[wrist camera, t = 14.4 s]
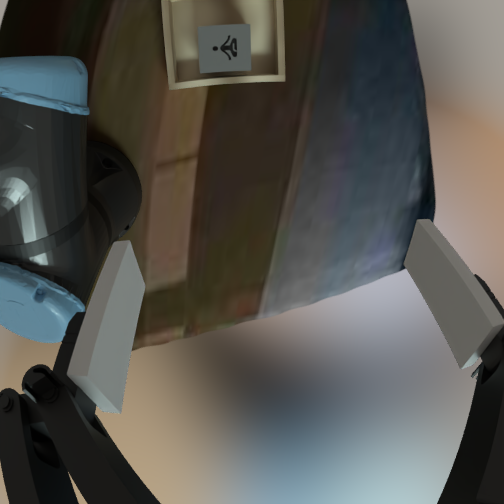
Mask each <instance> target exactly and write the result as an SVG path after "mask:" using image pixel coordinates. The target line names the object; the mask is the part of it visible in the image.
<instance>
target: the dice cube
mask: <svg viewBox="0 0 504 504" xmlns="http://www.w3.org/2000/svg"><path fill="white" fill-rule="evenodd" d="M198 47H199V65H200V73H211V72H226V71H251V29H250V24H230V25H213V26H201V27H198Z"/></svg>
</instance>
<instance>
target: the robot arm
mask: <svg viewBox="0 0 504 504" xmlns="http://www.w3.org/2000/svg"><path fill="white" fill-rule="evenodd" d="M87 84H88V73H87V69H86V67H85V65H84V64H83V62H82V61H80V60H79V59H77V58H75V57H70V56H24V57H6V58H0V324H1V325H2V326H4V327H5V328H7V329H8V330H10V331H12V332H14V333H16V334H18V335H20V336H22V337H25V338H27V339H31V340H34V341H38V342H44V343H56V342H60V341H62V344H61V346H60V349H59V352H58V355H57V358H56V361H55V364H54V367H53V371H52V370H50V368H49V367H48V366H46V365H43V364H39V365H35V366H33V367H31V368H30V369H29V370H28V371H27V372H26V374H25V375H24V377H23V381H22V390H23V391H24V392H25V394H21V395H20V394H18V393H17V392H16V391H15V390H14V389H11V388H6V389H4V390H2V391H1V392H0V462H1V468H2V472H3V478H4V483H5V487H6V492H7V496H8V499H9V504H79V503H78V500H77V497H76V494H75V492H74V489H73V486H72V483H71V480H70V477H69V474H70V475H71V477H72V479H73V481H74V482H75V484H76V486H77V487H78V489H79V491H80V492H81V494H82V496H83V497H84V499H85V500H86V502H87V503H88V504H161V503H160V502H159V501H158V500H157V499H156V498H155V496H154V495H153V494H152V493H151V491H150V490H149V489H148V488H147V487H146V485H145V484H144V483H143V482H142V480H141V479H140V478H139V476H138V475H137V474H136V473H135V471H134V470H133V469H132V467H131V466H130V464H129V463H128V462H127V460H126V459H125V458H124V456H123V455H122V453H121V452H120V450H119V449H118V448H117V446H116V445H115V443H114V442H113V440H112V439H111V437H110V436H109V434H108V433H107V431H106V429H105V428H104V426H103V425H102V423H101V421H100V420H99V418H98V417H97V415H95V410H96V406H97V407H99V408H100V409H101V410H102V411H103V412H110V413H121V411H122V404H123V397H124V391H125V384H126V378H127V372H128V367H129V361H130V356H131V350H132V345H133V340H134V335H135V330H136V325H137V321H138V316H139V312H140V307H141V303H142V298H143V294H144V290H145V284H144V281H143V278H142V275H141V273H140V270H139V267H138V264H137V261H136V258H135V255H134V252H133V249H132V246H131V243H130V240H128V241H118V242H116V241H117V240H118V239H119V238H120V237H122V236H123V235H124V234H125V233H126V232H127V231H128V230H129V229H130V228H131V226H132V225H133V223H134V221H135V219H136V217H137V214H138V212H139V209H140V206H141V201H142V190H141V184H140V180H139V177H138V175H137V173H136V171H135V169H134V167H133V166H132V164H131V163H130V162H129V160H128V159H127V158H126V157H125V156H124V155H123V154H122V153H120V152H119V151H118V150H116V149H115V148H113V147H111V146H109V145H107V144H104V143H101V142H96V141H86V140H87V115H88V114H89V108H88V107H87ZM112 244H113V246H112V248H111V250H110V253H109V255H108V257H107V260H106V262H105V264H104V267H103V269H102V272H101V274H100V277H99V279H98V282H97V284H96V287H95V290H94V292H93V295H92V298H91V300H90V303H89V306H88V309H87V311H86V312H85V306H86V303H87V300H88V298H89V295H90V292H91V290H92V287H93V284H94V282H95V279H96V277H97V274H98V272H99V269H100V267H101V264H102V262H103V259H104V257H105V255H106V252H107V250H108V248H109V247H110V246H111V245H112ZM404 266H405V267H406V269H407V270H408V272H409V274H410V275H411V277H412V279H413V280H414V282H415V284H416V285H417V287H418V289H419V290H420V292H421V294H422V296H423V298H424V299H425V301H426V303H427V305H428V306H429V308H430V310H431V312H432V314H433V315H434V317H435V319H436V321H437V323H438V325H439V327H440V328H441V331H442V332H443V334H444V336H445V338H446V340H447V342H448V344H449V346H450V348H451V350H452V352H453V354H454V357H455V359H456V361H457V363H458V365H459V367H460V369H463V368H466V367H469V366H471V365H473V364H474V363H475V362H476V361H477V360H478V358H479V357H481V359H482V361H483V362H482V363H481V364H480V365H479V366H478V367H477V369H476V370H475V371H474V372H473V373H472V376H471V377H472V378H473V377H474V376H475V375H476V374H477V373H478V376H477V378H476V379H477V382H476V387H475V391H474V396H473V400H472V405H471V409H470V412H469V416H468V420H467V424H466V427H465V430H464V434H463V437H462V440H461V444H460V447H459V450H458V453H457V455H456V458H455V461H454V464H453V467H452V469H451V472H450V474H449V477H448V479H447V482H446V484H445V487H444V489H443V492H442V494H441V496H440V498H439V501H438V503H437V504H504V309H503V308H502V306H501V305H500V303H499V302H498V300H497V299H495V296H494V294H493V293H492V292H491V290H490V288H489V287H488V286H487V284H486V283H485V281H483V280H482V279H481V278H480V277H479V276H478V275H476V274H475V275H473V273H472V272H471V271H470V269H469V268H468V267H467V265H466V264H465V263H464V261H463V260H462V259H461V257H460V256H459V255H458V253H457V252H456V251H455V250H454V248H453V247H452V246H451V245H450V243H449V242H448V241H447V240H446V238H445V237H444V236H443V235H442V234H441V232H440V231H439V230H438V229H437V228H436V226H435V225H434V224H433V223H432V222H431V221H430V219H423V220H417V222H416V226H415V229H414V233H413V236H412V239H411V243H410V246H409V249H408V252H407V255H406V258H405V262H404ZM68 472H69V473H68Z"/></svg>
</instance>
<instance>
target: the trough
mask: <svg viewBox="0 0 504 504" xmlns="http://www.w3.org/2000/svg"><path fill="white" fill-rule="evenodd" d="M161 3H162V17H163V30H164V42H165V53H166V63H167V73H168V82H169V90H174V89H181V88H189V87H197V86H206V85H217V84H229V83H245V82H271V81H285V48H284V15H283V0H161ZM230 24H250V29H251V71H226V72H211V73H200V65H199V47H198V27H201V26H213V25H230Z"/></svg>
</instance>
